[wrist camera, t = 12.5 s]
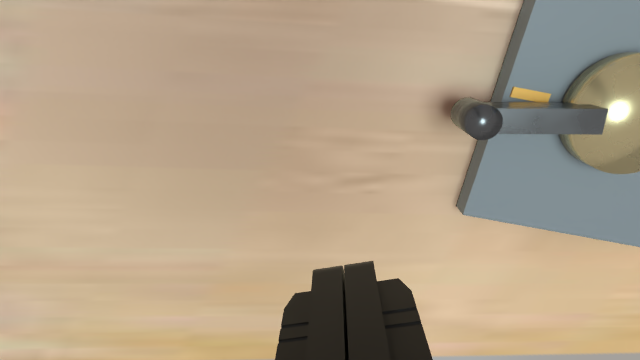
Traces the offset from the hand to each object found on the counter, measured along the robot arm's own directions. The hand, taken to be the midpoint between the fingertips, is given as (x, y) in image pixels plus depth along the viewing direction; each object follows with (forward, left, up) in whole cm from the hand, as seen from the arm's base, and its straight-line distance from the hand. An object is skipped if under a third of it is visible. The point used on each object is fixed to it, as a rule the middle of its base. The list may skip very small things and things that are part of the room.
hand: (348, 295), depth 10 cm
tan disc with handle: (-4, +17, -23) cm, 29 cm away
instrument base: (-5, +21, -25) cm, 34 cm away
